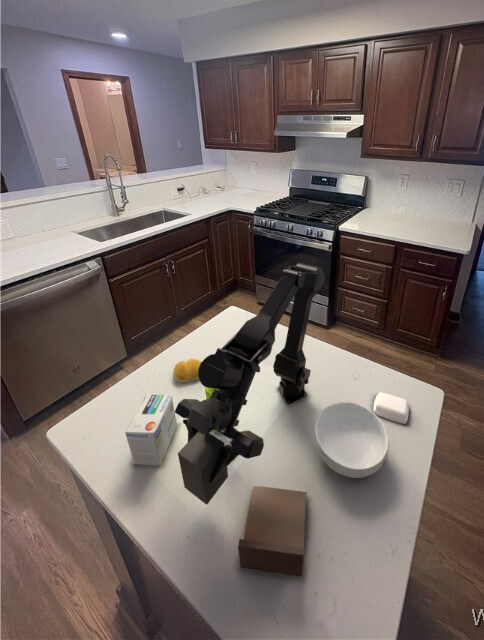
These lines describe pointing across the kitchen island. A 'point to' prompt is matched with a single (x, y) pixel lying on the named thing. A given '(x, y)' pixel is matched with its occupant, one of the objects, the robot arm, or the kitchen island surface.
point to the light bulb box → (152, 430)
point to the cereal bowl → (351, 439)
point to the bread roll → (186, 370)
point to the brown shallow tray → (274, 532)
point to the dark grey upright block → (201, 466)
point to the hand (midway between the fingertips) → (199, 473)
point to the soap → (391, 407)
